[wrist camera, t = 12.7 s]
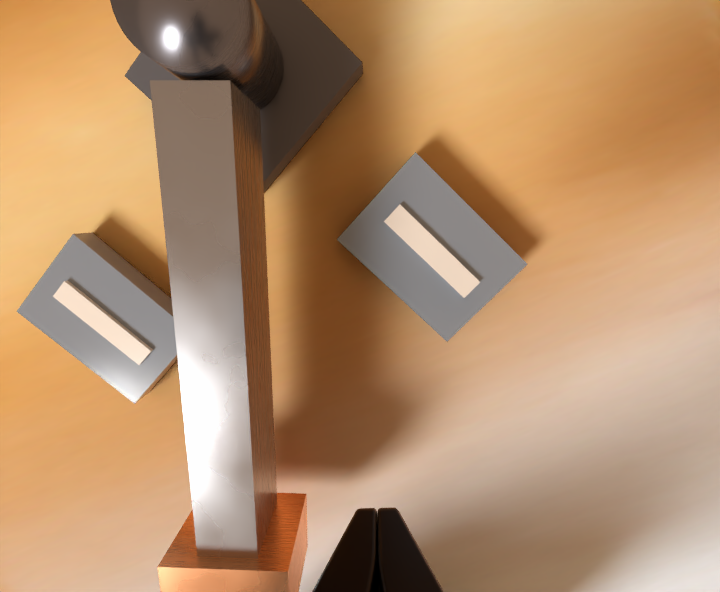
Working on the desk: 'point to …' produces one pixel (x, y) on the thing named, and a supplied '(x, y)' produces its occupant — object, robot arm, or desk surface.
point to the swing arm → (220, 289)
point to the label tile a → (105, 315)
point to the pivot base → (288, 81)
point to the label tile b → (431, 248)
